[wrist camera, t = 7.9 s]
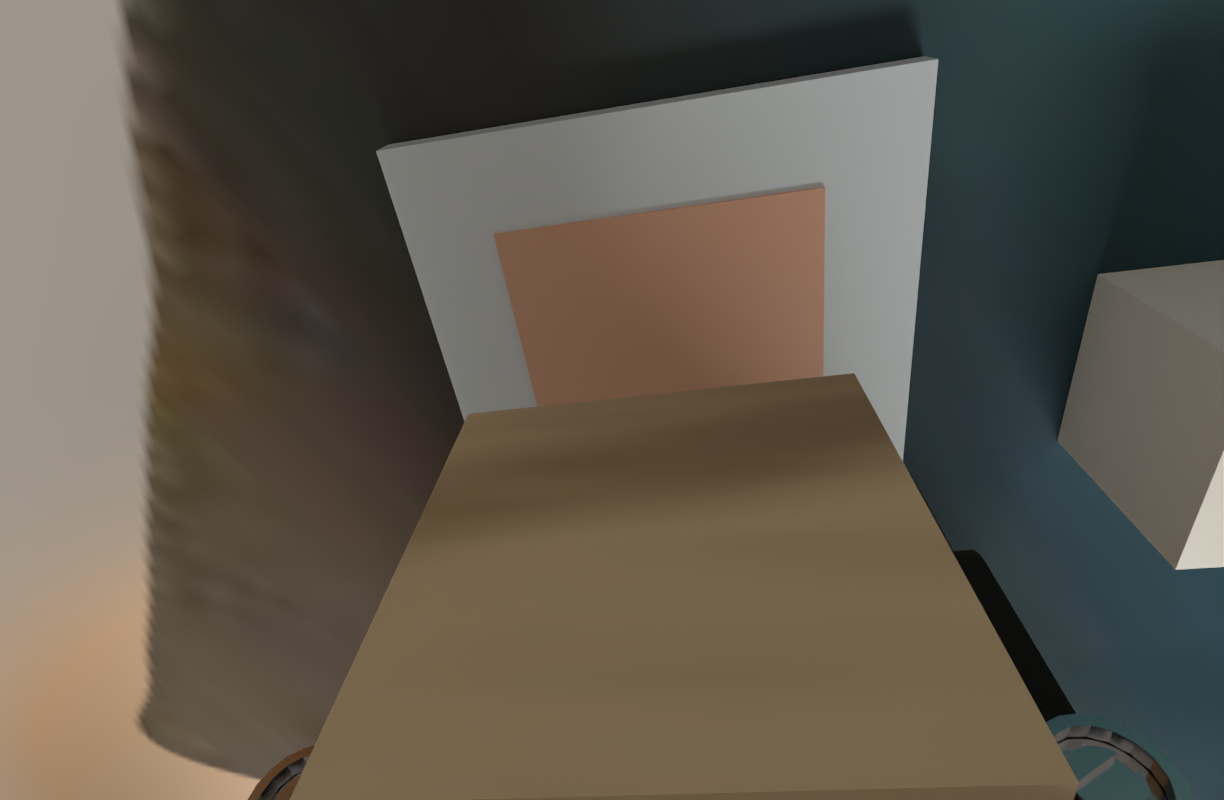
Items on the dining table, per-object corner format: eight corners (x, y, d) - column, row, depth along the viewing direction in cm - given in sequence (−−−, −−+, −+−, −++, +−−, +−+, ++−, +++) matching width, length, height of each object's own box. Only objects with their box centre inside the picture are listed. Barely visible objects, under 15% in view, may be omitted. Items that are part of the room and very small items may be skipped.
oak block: (468, 414, 10) (285, 805, 5) (854, 373, 10) (1078, 784, 5) (545, 657, 13) (476, 1058, 8) (844, 641, 13) (973, 1072, 8)
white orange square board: (388, 144, 15) (374, 152, 14) (924, 55, 14) (940, 59, 13) (509, 526, 21) (503, 546, 21) (890, 496, 20) (899, 516, 19)
